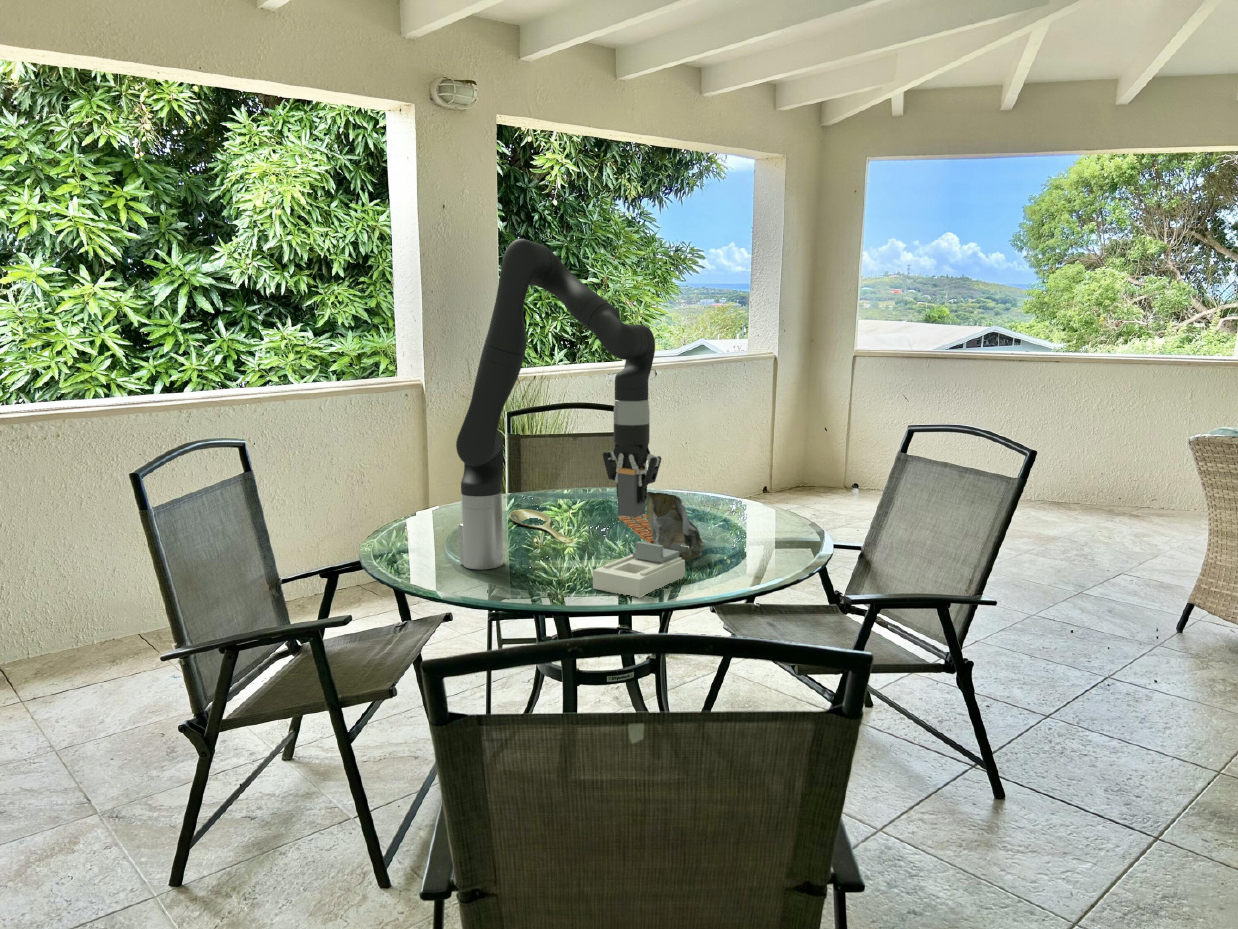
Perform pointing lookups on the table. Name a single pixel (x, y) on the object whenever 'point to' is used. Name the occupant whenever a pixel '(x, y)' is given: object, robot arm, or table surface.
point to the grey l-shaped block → (654, 552)
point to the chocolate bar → (637, 528)
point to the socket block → (637, 575)
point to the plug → (628, 494)
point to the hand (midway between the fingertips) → (631, 501)
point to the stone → (672, 525)
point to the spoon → (526, 514)
